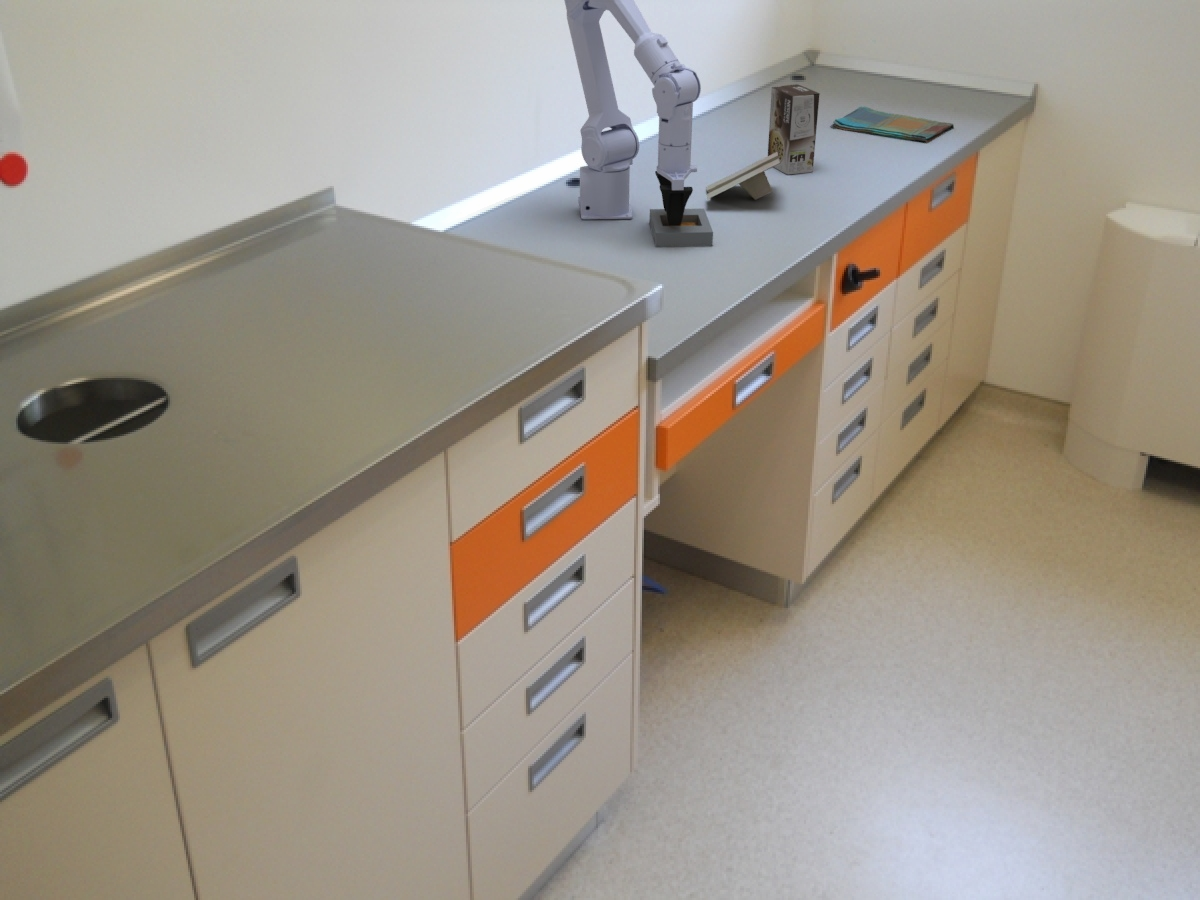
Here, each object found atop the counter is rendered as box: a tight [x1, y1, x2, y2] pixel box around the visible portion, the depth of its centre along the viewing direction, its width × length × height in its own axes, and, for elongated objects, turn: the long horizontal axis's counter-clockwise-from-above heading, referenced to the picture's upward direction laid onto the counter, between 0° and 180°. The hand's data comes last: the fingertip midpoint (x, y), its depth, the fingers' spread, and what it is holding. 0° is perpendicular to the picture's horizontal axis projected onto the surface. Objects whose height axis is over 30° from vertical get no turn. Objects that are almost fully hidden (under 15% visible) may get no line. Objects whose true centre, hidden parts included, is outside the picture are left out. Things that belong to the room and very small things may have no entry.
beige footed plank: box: [706, 152, 781, 201], centre depth 245 cm, size 16×9×15 cm
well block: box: [648, 208, 714, 248], centre depth 228 cm, size 10×13×2 cm
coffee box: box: [767, 83, 821, 176], centre depth 261 cm, size 9×6×16 cm
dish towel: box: [830, 106, 955, 144], centre depth 293 cm, size 17×23×2 cm
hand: (672, 217), depth 227 cm, fingers open, 7 cm apart
